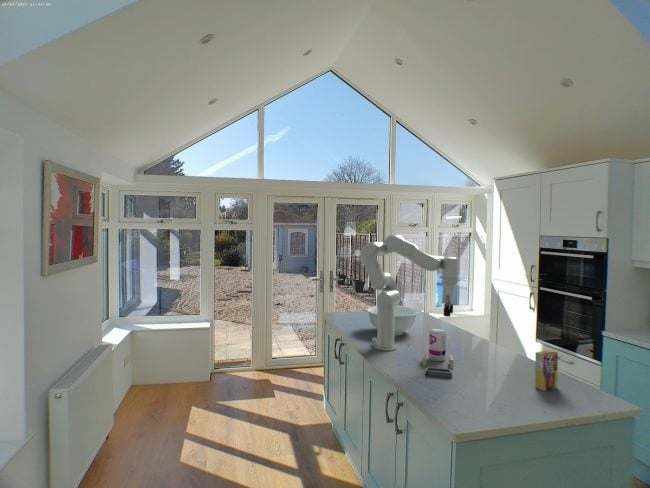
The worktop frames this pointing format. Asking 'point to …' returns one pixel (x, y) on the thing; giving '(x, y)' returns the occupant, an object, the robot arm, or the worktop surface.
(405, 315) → the bowl
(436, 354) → the supplement can
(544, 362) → the candy box
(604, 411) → the worktop surface
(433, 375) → the pit tray
